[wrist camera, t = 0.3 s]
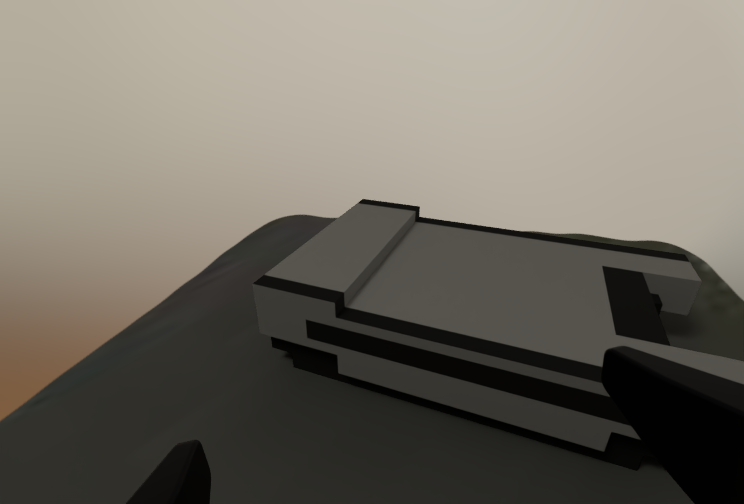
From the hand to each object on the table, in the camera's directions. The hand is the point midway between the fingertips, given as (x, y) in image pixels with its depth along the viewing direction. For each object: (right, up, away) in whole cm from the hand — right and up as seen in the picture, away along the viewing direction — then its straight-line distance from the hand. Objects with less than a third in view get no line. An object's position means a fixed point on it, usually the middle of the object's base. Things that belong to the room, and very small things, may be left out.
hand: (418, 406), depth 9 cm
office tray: (+9, -5, +29) cm, 30 cm away
